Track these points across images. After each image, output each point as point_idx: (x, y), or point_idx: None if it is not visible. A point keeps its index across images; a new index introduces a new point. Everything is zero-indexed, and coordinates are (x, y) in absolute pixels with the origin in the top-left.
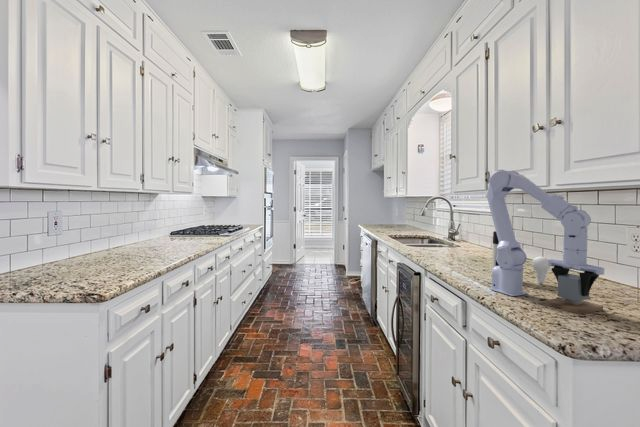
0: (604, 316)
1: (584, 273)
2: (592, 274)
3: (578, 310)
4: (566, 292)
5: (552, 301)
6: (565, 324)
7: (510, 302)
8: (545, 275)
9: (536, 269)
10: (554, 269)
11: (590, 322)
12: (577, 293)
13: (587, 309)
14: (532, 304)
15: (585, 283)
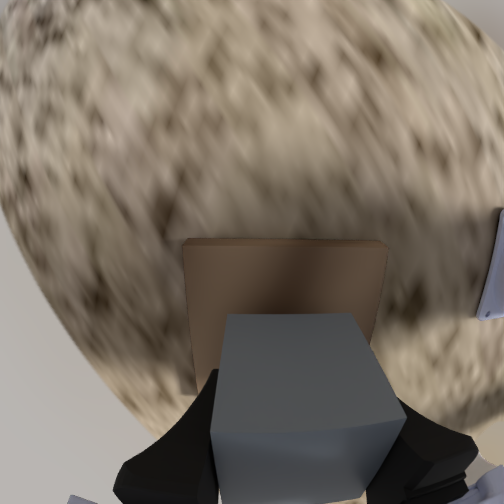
0: (138, 318)
1: (162, 501)
2: (122, 502)
3: (191, 244)
4: (303, 337)
5: (356, 269)
6: (129, 21)
7: (462, 97)
8: None
9: (489, 466)
10: (457, 451)
11: (98, 163)
12: (223, 344)
13: (187, 307)
14: (406, 168)
15: (176, 428)
